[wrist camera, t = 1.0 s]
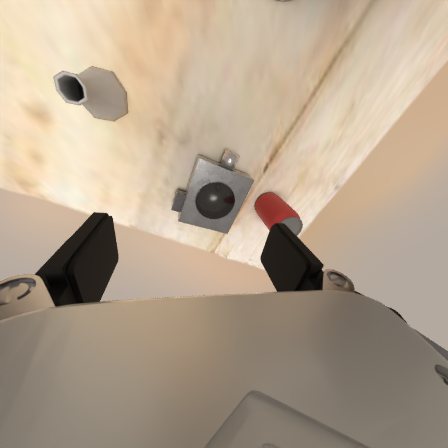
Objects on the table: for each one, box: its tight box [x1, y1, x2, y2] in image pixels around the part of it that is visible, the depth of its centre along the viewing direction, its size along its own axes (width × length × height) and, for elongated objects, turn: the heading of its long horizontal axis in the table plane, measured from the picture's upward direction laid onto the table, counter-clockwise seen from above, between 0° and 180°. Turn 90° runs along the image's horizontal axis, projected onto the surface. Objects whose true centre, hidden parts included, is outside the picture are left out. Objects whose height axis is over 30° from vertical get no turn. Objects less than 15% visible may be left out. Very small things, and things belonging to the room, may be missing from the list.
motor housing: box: [171, 150, 254, 234], centre depth 38 cm, size 17×14×4 cm
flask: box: [54, 66, 128, 121], centre depth 25 cm, size 7×7×10 cm
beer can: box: [255, 193, 303, 236], centre depth 40 cm, size 7×7×12 cm
